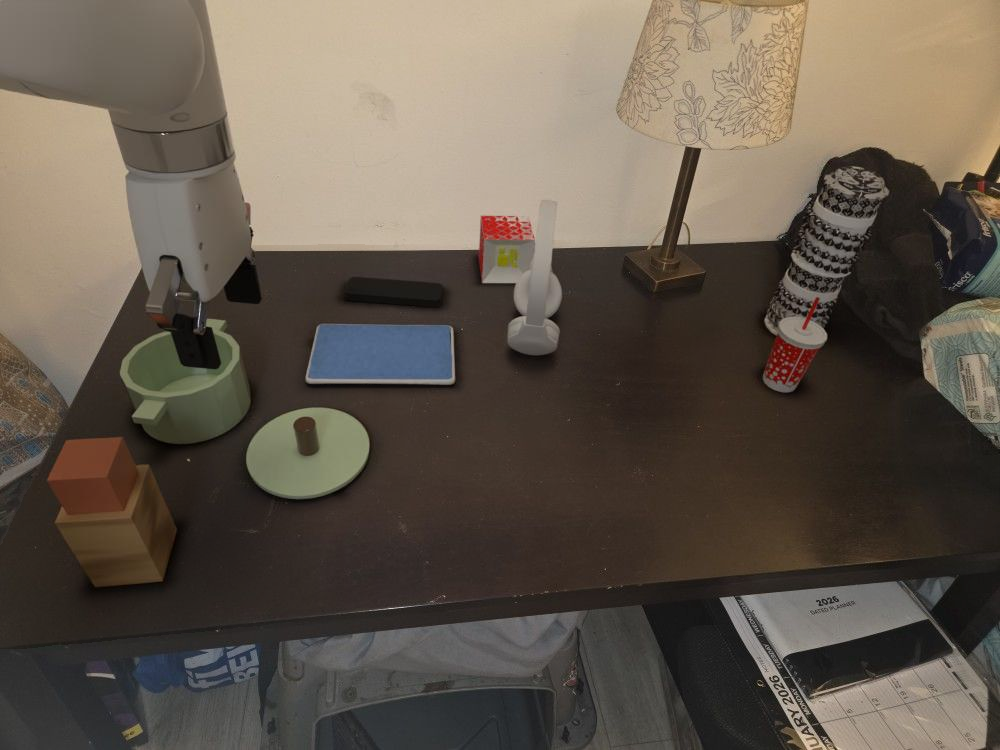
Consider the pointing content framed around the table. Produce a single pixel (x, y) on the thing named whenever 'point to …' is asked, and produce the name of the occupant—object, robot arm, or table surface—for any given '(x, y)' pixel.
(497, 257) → the red and white cube
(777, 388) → the beverage cup
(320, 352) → the tablet
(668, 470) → the table surface
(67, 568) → the table surface
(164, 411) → the light green round pot
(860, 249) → the white patterned cylinder
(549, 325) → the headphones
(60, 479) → the block
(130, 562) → the block
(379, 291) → the remote control
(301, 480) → the lid
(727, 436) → the table surface
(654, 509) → the table surface
